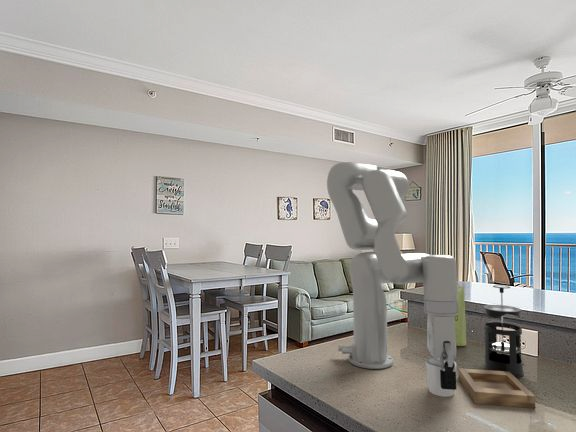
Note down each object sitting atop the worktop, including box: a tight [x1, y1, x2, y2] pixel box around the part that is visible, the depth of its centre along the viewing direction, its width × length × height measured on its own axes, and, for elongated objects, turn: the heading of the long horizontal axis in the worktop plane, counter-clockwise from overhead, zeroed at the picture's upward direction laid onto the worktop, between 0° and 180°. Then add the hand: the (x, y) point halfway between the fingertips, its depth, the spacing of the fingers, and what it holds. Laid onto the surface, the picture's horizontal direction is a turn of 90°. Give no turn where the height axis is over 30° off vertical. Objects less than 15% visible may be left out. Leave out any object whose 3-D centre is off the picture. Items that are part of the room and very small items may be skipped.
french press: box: [483, 284, 525, 379], centre depth 102 cm, size 12×9×23 cm
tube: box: [454, 285, 467, 347], centre depth 124 cm, size 6×5×20 cm
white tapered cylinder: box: [425, 356, 457, 398], centre depth 88 cm, size 7×7×7 cm
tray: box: [458, 368, 536, 409], centre depth 88 cm, size 12×14×2 cm
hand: (443, 380), depth 88 cm, fingers open, 9 cm apart
